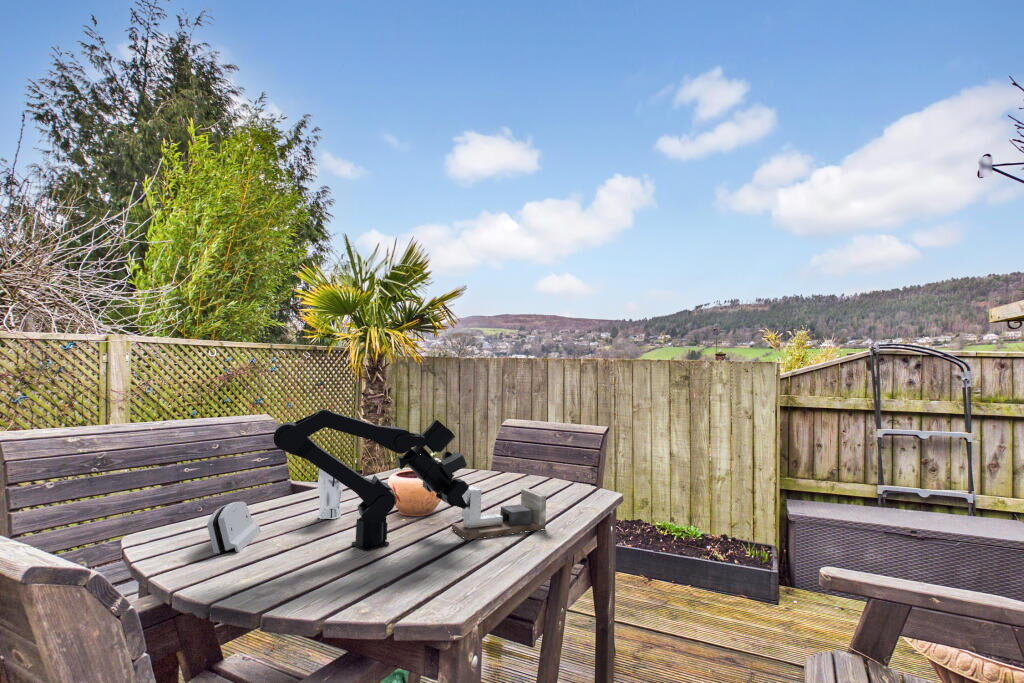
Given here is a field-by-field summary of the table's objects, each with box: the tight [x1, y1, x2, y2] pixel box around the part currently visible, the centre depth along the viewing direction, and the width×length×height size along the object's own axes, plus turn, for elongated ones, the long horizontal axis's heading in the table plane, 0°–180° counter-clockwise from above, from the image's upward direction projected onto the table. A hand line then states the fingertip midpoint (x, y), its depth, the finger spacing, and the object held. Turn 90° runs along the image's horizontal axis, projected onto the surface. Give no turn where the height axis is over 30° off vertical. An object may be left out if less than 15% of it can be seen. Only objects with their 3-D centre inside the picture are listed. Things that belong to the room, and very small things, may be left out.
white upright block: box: [317, 461, 345, 520], centre depth 143 cm, size 7×7×15 cm
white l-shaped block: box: [461, 485, 503, 528], centre depth 134 cm, size 10×5×10 cm, turn 119°
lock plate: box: [451, 487, 547, 541], centre depth 136 cm, size 23×10×9 cm, turn 119°
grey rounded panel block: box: [207, 501, 262, 554], centre depth 120 cm, size 17×5×10 cm, turn 10°
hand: (465, 507), depth 131 cm, fingers closed, pressing on white l-shaped block
